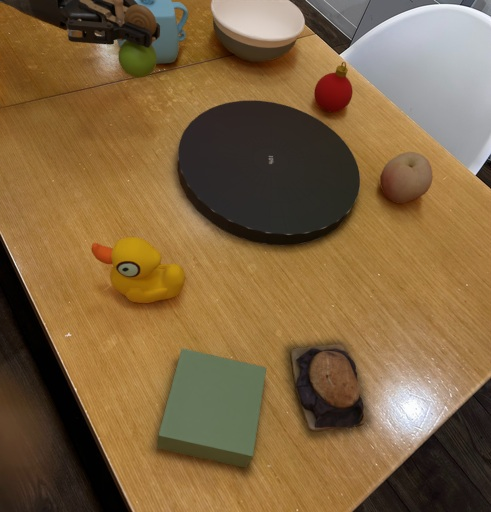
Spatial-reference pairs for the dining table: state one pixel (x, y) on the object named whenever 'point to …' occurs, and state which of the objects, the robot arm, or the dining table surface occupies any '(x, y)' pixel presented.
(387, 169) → the fruit
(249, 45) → the bowl
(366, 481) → the dining table surface
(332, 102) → the christmas ornament
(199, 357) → the green block
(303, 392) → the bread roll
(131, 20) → the snail figurine
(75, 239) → the dining table surface
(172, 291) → the duckling
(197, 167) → the disc
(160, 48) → the teapot
